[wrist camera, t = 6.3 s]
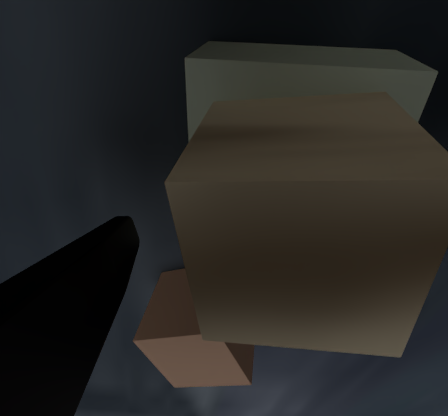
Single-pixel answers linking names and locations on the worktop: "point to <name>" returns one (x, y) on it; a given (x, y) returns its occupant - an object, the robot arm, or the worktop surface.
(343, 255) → the maple cube
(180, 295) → the terracotta cube
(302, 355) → the worktop surface
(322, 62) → the sage block
